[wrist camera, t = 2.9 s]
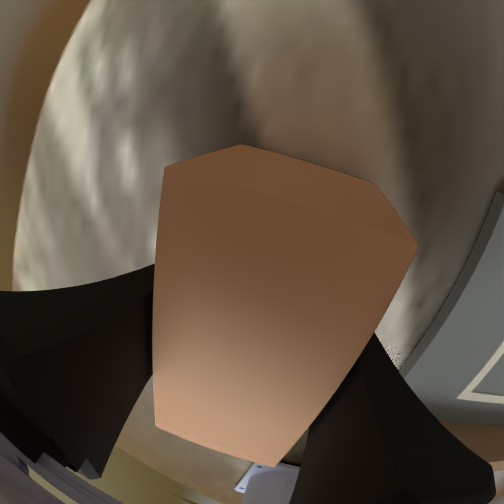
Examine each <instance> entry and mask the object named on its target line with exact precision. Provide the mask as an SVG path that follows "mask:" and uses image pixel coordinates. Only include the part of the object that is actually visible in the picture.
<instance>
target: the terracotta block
mask: <svg viewBox="0 0 504 504" xmlns="http://www.w3.org/2000/svg"><path fill="white" fill-rule="evenodd" d="M418 246H419V244H418V243H417V241H416V240H415V238H414V237H413V235H412V234H411V232H410V231H409V230H408V228H407V227H406V225H405V224H404V222H403V221H402V220H401V218H400V217H399V215H398V214H397V213H396V211H395V210H394V208H393V207H392V206H391V204H390V203H389V202H388V200H387V199H386V198H385V196H384V195H383V194H382V192H381V191H380V190H379V188H378V187H377V186H376V185H375V184H373V183H370V182H367V181H364V180H362V179H359V178H356V177H353V176H350V175H347V174H344V173H341V172H338V171H335V170H332V169H329V168H326V167H323V166H319V165H316V164H313V163H310V162H306V161H303V160H300V159H296V158H293V157H289V156H286V155H282V154H278V153H275V152H271V151H267V150H263V149H260V148H256V147H252V146H248V145H243V144H240V145H236V146H233V147H229V148H225V149H222V150H218V151H215V152H211V153H208V154H205V155H201V156H198V157H195V158H191V159H188V160H185V161H182V162H179V163H176V164H173V165H170V166H167V167H165V168H164V176H163V184H162V192H161V200H160V209H159V219H158V230H157V242H156V255H155V271H154V292H153V336H152V347H153V390H154V410H155V425H156V427H158V428H161V429H163V430H165V431H167V432H170V433H172V434H174V435H177V436H179V437H182V438H184V439H186V440H189V441H192V442H194V443H197V444H199V445H202V446H205V447H208V448H210V449H213V450H216V451H219V452H222V453H225V454H228V455H231V456H234V457H238V458H241V459H244V460H248V461H251V462H255V463H259V464H262V465H266V466H270V467H275V466H276V465H277V464H278V462H279V461H280V460H281V459H282V458H283V457H284V456H285V455H286V453H287V452H288V451H289V450H290V449H291V448H292V446H293V445H294V444H295V443H296V442H297V441H298V439H299V438H300V437H301V436H302V434H303V433H304V432H305V431H306V430H307V428H308V427H309V426H310V425H311V423H312V422H313V421H314V419H315V418H316V417H317V416H318V414H319V413H320V412H321V410H322V409H323V408H324V406H325V405H326V404H327V402H328V401H329V400H330V398H331V397H332V395H333V394H334V393H335V391H336V390H337V388H338V387H339V386H340V384H341V383H342V381H343V380H344V378H345V377H346V375H347V374H348V372H349V371H350V369H351V368H352V366H353V365H354V363H355V362H356V360H357V359H358V357H359V356H360V354H361V352H362V351H363V349H364V348H365V346H366V344H367V343H368V341H369V340H370V338H371V336H372V335H373V333H374V331H375V330H376V328H377V326H378V324H379V323H380V321H381V319H382V317H383V316H384V314H385V312H386V310H387V308H388V307H389V305H390V303H391V301H392V299H393V297H394V296H395V294H396V292H397V290H398V288H399V286H400V284H401V282H402V280H403V278H404V276H405V274H406V272H407V270H408V268H409V266H410V264H411V262H412V259H413V257H414V255H415V253H416V251H417V249H418Z"/></svg>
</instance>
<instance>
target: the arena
mask: <svg viewBox="0 0 504 504" xmlns="http://www.w3.org/2000/svg"><path fill="white" fill-rule="evenodd" d="M399 373H400V374H401V375H402V377H403V378H404V380H405V381H406V382H407V384H408V385H409V386H410V388H411V389H412V390H413V391H414V393H415V394H416V395H417V397H418V398H419V399H420V400H421V402H422V403H423V404H424V405H425V406H426V407H427V408H428V410H429V411H430V412H431V413H432V414H433V415H434V416H435V417H436V418H437V419H438V420H439V422H440V423H441V424H442V425H443V426H445V427H446V428H447V429H448V430H449V431H450V432H451V433H452V434H453V435H454V436H455V437H456V438H457V439H458V440H460V441H461V442H462V443H463V444H464V445H465V446H466V447H468V448H469V449H470V450H472V451H473V452H474V453H476V454H477V455H478V456H480V457H481V458H482V459H484V460H485V461H486V462H488V463H489V464H490V465H492V468H493V472H494V471H500V470H504V195H503V194H501V193H500V192H498V191H496V194H495V197H494V199H493V202H492V205H491V207H490V210H489V212H488V215H487V217H486V220H485V222H484V225H483V227H482V229H481V232H480V234H479V236H478V239H477V241H476V243H475V245H474V247H473V249H472V252H471V254H470V256H469V258H468V260H467V262H466V264H465V266H464V268H463V270H462V272H461V274H460V276H459V277H458V279H457V281H456V283H455V285H454V287H453V288H452V290H451V292H450V294H449V296H448V297H447V299H446V301H445V302H444V304H443V306H442V307H441V309H440V311H439V312H438V314H437V316H436V317H435V319H434V320H433V322H432V324H431V325H430V327H429V328H428V330H427V331H426V333H425V334H424V336H423V337H422V339H421V340H420V342H419V343H418V345H417V346H416V347H415V349H414V350H413V352H412V353H411V355H410V356H409V357H408V359H407V360H406V361H405V363H404V364H403V365H402V367H401V368H400V369H399Z"/></svg>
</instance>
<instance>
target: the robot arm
mask: <svg viewBox="0 0 504 504" xmlns="http://www.w3.org/2000/svg"><path fill="white" fill-rule="evenodd" d="M154 271H155V264H153V265H150V266H147V267H145V268H142V269H139V270H136V271H133V272H130V273H126V274H123V275H120V276H117V277H114V278H110V279H107V280H103V281H99V282H94V283H90V284H85V285H80V286H73V287H67V288H60V289H53V290H41V291H0V504H65V503H64V502H62V501H61V500H59V499H58V498H57V497H55V496H54V495H53V494H51V493H50V492H49V491H47V490H46V489H44V488H43V487H42V486H41V485H39V484H38V483H37V482H35V481H34V480H33V479H32V478H31V477H30V476H29V469H28V467H27V465H28V466H29V467H30V468H31V469H32V470H34V471H35V472H36V473H37V474H39V475H40V476H41V477H42V478H44V479H45V480H46V481H47V482H49V483H50V484H51V485H53V486H54V487H56V488H57V489H58V490H60V491H61V492H63V493H64V494H65V495H67V496H68V497H70V498H71V499H73V500H74V501H76V502H77V503H79V504H124V503H122V502H121V501H119V500H117V499H115V498H113V497H111V496H109V495H108V494H106V493H104V492H102V491H101V490H99V489H97V488H96V487H94V486H92V485H91V484H89V483H87V482H86V481H84V480H83V479H81V478H80V477H78V476H77V475H75V474H74V473H72V472H71V471H69V470H68V469H66V466H67V467H69V468H70V469H72V470H73V471H74V472H78V473H80V474H82V475H83V476H85V477H86V478H88V479H98V478H101V476H102V473H103V471H104V468H105V466H106V463H107V461H108V459H109V456H110V454H111V452H112V449H113V447H114V445H115V443H116V441H117V439H118V437H119V434H120V432H121V430H122V428H123V426H124V424H125V422H126V420H127V418H128V416H129V414H130V413H131V411H132V409H133V407H134V405H135V403H136V401H137V399H138V398H139V396H140V394H141V392H142V390H143V389H144V387H145V385H146V383H147V382H148V380H149V379H150V377H151V376H152V374H153V347H152V336H153V292H154ZM235 490H236V491H238V492H242V493H244V495H243V498H242V502H241V504H488V503H489V502H490V501H491V500H492V499H493V498H494V496H495V495H496V488H495V480H494V473H493V468H492V465H490V464H489V463H488V462H486V461H485V460H484V459H482V458H481V457H480V456H478V455H477V454H476V453H474V452H473V451H472V450H470V449H469V448H468V447H466V446H465V445H464V444H463V443H462V442H461V441H460V440H458V439H457V438H456V437H455V436H454V435H453V434H452V433H451V432H450V431H449V430H448V429H447V428H446V427H445V426H443V425H442V424H441V423H440V422H439V420H438V419H437V418H436V417H435V416H434V415H433V414H432V413H431V412H430V411H429V410H428V408H427V407H426V406H425V405H424V404H423V403H422V402H421V400H420V399H419V398H418V397H417V395H416V394H415V393H414V391H413V390H412V389H411V388H410V386H409V385H408V384H407V382H406V381H405V380H404V378H403V377H402V375H401V374H400V373H399V371H398V370H397V368H396V367H395V365H394V364H393V362H392V361H391V359H390V357H389V356H388V354H387V353H386V351H385V349H384V348H383V346H382V344H381V343H380V341H379V339H378V338H377V336H376V334H375V332H374V333H373V335H372V336H371V338H370V340H369V341H368V343H367V344H366V346H365V348H364V349H363V351H362V352H361V354H360V356H359V357H358V359H357V360H356V362H355V363H354V365H353V366H352V368H351V369H350V371H349V372H348V374H347V375H346V377H345V378H344V380H343V381H342V383H341V384H340V386H339V387H338V388H337V390H336V391H335V393H334V394H333V395H332V397H331V398H330V400H329V401H328V402H327V404H326V405H325V406H324V408H323V409H322V410H321V412H320V413H319V414H318V416H317V417H316V418H315V419H314V421H313V422H312V423H311V425H310V426H309V432H308V438H307V443H306V447H305V451H304V455H303V459H302V463H301V467H297V466H293V465H288V464H284V463H280V462H278V464H277V465H276V466H275V467H270V466H266V465H262V464H259V463H255V462H254V463H253V464H252V465H251V467H250V468H249V469H248V471H247V472H246V473H245V475H244V476H243V477H242V479H241V480H240V481H239V483H238V484H237V485H236V487H235Z"/></svg>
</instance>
